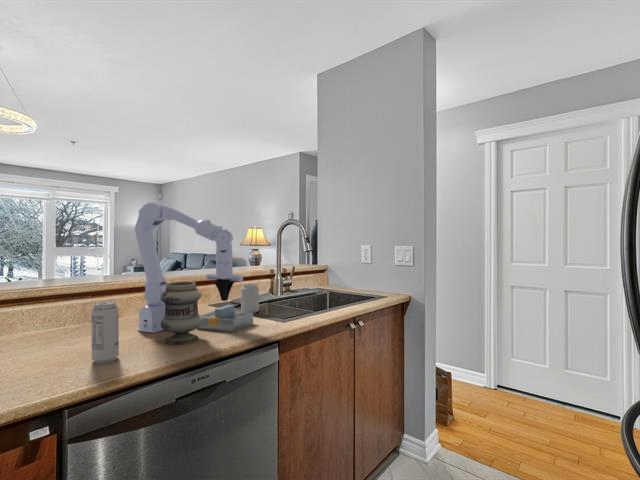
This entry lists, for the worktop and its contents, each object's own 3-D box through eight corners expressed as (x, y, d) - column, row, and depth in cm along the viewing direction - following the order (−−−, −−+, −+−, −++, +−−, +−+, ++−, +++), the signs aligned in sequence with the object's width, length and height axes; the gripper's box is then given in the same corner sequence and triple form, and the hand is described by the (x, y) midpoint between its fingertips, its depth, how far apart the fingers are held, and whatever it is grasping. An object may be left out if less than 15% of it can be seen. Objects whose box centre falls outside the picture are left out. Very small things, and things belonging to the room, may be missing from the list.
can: (260, 313, 146) (260, 284, 146) (242, 314, 143) (242, 285, 143) (257, 309, 153) (256, 282, 153) (239, 311, 150) (239, 283, 150)
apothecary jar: (157, 347, 101) (156, 286, 101) (164, 336, 112) (163, 281, 112) (201, 344, 104) (200, 284, 104) (203, 333, 116) (203, 279, 115)
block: (221, 326, 121) (221, 309, 121) (215, 325, 122) (215, 309, 122) (234, 321, 129) (234, 305, 129) (228, 320, 130) (228, 304, 129)
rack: (232, 332, 116) (232, 320, 116) (194, 328, 122) (194, 316, 122) (253, 323, 128) (253, 312, 128) (217, 320, 134) (217, 309, 134)
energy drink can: (122, 359, 91) (121, 303, 91) (96, 366, 86) (95, 306, 86) (114, 354, 95) (113, 300, 95) (88, 360, 90) (88, 303, 90)
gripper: (247, 262, 126) (247, 299, 126) (214, 261, 131) (215, 297, 131) (236, 263, 119) (236, 303, 120) (202, 263, 125) (202, 300, 125)
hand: (224, 300), depth 125 cm, fingers closed
